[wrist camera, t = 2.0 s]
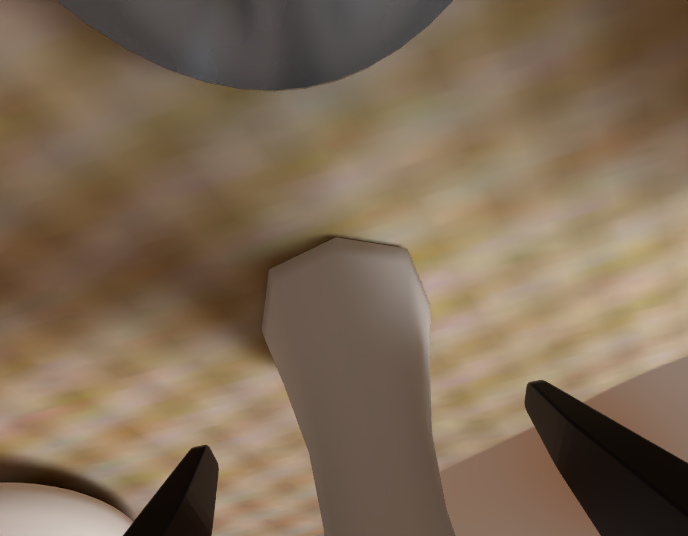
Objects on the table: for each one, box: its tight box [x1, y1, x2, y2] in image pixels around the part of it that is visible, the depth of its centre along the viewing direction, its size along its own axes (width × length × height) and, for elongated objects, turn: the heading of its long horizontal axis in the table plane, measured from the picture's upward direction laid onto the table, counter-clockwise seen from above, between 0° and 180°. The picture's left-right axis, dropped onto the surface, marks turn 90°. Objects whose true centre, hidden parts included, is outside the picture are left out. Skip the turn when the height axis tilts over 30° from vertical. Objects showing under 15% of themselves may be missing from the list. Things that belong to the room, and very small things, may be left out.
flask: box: [262, 237, 455, 536], centre depth 10 cm, size 7×7×10 cm
